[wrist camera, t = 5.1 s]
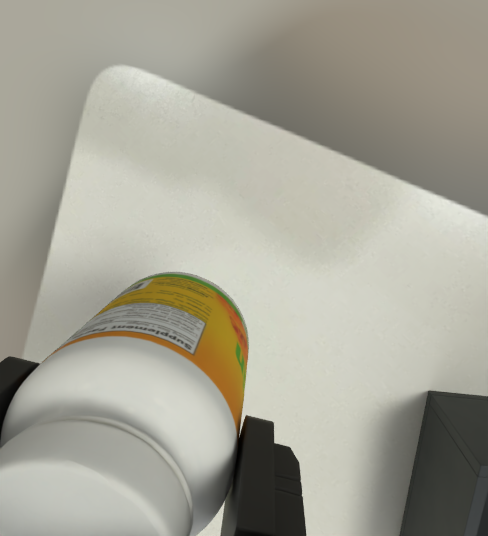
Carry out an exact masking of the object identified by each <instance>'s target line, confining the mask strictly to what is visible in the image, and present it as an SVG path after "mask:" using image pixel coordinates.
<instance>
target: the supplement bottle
mask: <svg viewBox="0 0 488 536" xmlns="http://www.w3.org/2000/svg"><path fill="white" fill-rule="evenodd" d="M248 347H249V342H248V332H247V327H246V324H245V320H244V318H243V316H242V314H241V312H240V310H239V308H238V306H237V305H236V304H235V302H234V301H233V300H232V298H231V297H230V296H229V295H228V294H227V293H226V292H225V291H223V290H222V289H221V288H220V287H218V286H217V285H215V284H214V283H212V282H210V281H208V280H206V279H204V278H202V277H199V276H196V275H193V274H188V273H183V272H166V273H159V274H155V275H151V276H148V277H146V278H144V279H141V280H139V281H137V282H136V283H134V284H133V285H131V286H130V287H128V288H127V289H126V290H125V291H123V292H122V293H121V294H120V295H118V296H117V297H116V298H115V299H114V300H113V301H111V302H110V303H109V304H108V305H107V306H106V307H105V308H104V309H102V310H101V311H100V312H99V313H98V314H97V315H96V316H94V317H93V318H92V319H91V320H90V321H89V322H87V323H86V324H85V325H84V326H83V327H82V328H81V329H80V330H79V331H77V332H76V333H75V334H74V335H73V336H72V337H70V338H69V339H68V340H67V341H66V342H65V343H64V344H62V345H61V346H60V347H59V348H58V349H57V350H55V351H54V352H53V353H52V354H51V355H50V356H49V357H47V358H46V359H45V360H44V361H43V362H42V363H41V364H40V365H39V366H38V367H37V368H36V369H35V370H34V371H33V372H32V373H31V374H30V375H29V376H28V377H27V379H26V380H25V381H24V382H23V383H22V385H21V386H20V387H19V389H18V390H17V392H16V393H15V395H14V397H13V399H12V401H11V403H10V405H9V407H8V410H7V413H6V415H5V418H4V421H3V426H2V431H1V440H0V536H196V535H197V534H199V533H200V532H201V531H202V530H203V529H204V528H205V527H206V526H207V525H208V524H209V523H210V522H211V521H212V519H213V518H214V517H215V515H216V514H217V513H218V511H219V509H220V508H221V506H222V505H223V503H224V501H225V499H226V497H227V494H228V492H229V489H230V487H231V483H232V480H233V476H234V471H235V465H236V461H237V452H238V443H239V434H240V425H241V416H242V408H243V401H244V389H245V380H246V369H247V360H248V349H249V348H248Z"/></svg>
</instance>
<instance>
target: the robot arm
mask: <svg viewBox="0 0 488 536" xmlns="http://www.w3.org/2000/svg"><path fill="white" fill-rule="evenodd" d="M39 365H40V364H39V363H35V362H31V361H27V360H23V359H19V358H15V357H7V358H6V359H4V360H3V361H2V362H0V440H1V431H2V426H3V421H4V418H5V415H6V413H7V410H8V407H9V405H10V403H11V401H12V399H13V397H14V395H15V393H16V392H17V390H18V389H19V387H20V386H21V385H22V383H23V382H24V381H25V380H26V379H27V377H28V376H29V375H30V374H31V373H32V372H33V371H34V370H35V369H36V368H37V367H38V366H39ZM300 481H301V476H300V466H299V462H298V460H297V458H296V457H295V455H294V453H293V452H292V450H291V448H290V447H288V446H284V445H280V444H276V443H274V423H273V422H272V421H267V420H263V419H259V418H255V417H251V416H247V415H246V417H245V419H244V422H243V426H242V430H241V433H240V437H239V443H238V452H237V461H236V465H235V471H234V476H233V480H232V483H231V487H230V489H229V492H228V494H227V497H226V499H225V506H224V513H223V521H222V528H221V536H306V527H305V517H304V507H303V497H302V486H301V482H300Z"/></svg>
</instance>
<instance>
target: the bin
mask: <svg viewBox="0 0 488 536" xmlns="http://www.w3.org/2000/svg"><path fill="white" fill-rule="evenodd" d="M400 536H488V397H486V396H476V395H466V394H456V393H446V392H436V391H429V392H428V397H427V402H426V407H425V412H424V417H423V422H422V427H421V432H420V437H419V442H418V447H417V452H416V457H415V462H414V467H413V472H412V477H411V482H410V487H409V492H408V497H407V501H406V506H405V511H404V516H403V521H402V526H401V531H400Z"/></svg>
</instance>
